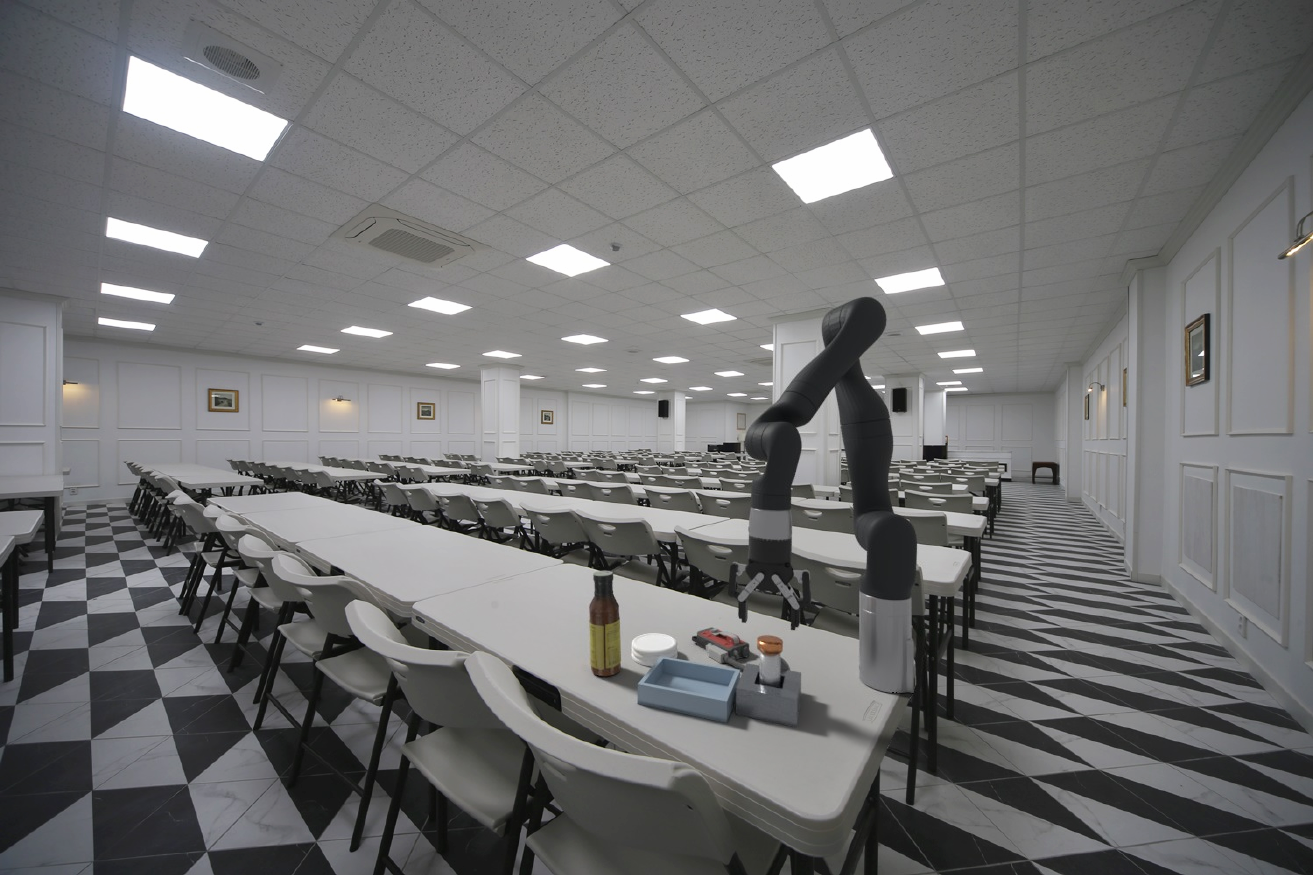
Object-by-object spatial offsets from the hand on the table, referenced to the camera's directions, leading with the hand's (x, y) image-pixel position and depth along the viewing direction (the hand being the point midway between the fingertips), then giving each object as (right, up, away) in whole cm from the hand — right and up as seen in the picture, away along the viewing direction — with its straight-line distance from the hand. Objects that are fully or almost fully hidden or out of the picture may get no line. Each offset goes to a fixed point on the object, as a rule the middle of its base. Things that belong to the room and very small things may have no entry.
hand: (768, 624), depth 84 cm
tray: (-14, -14, +3) cm, 20 cm away
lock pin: (0, -14, -1) cm, 14 cm away
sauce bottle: (-30, -14, +12) cm, 36 cm away
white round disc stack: (-20, -15, +19) cm, 31 cm away
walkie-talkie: (-4, -15, +20) cm, 25 cm away
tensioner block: (+1, -14, 0) cm, 14 cm away
